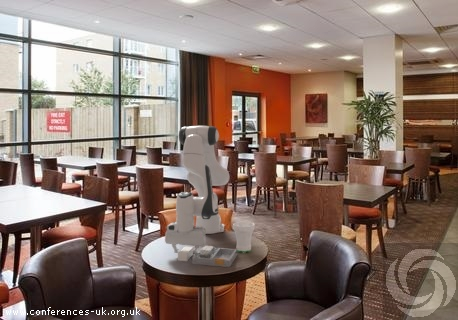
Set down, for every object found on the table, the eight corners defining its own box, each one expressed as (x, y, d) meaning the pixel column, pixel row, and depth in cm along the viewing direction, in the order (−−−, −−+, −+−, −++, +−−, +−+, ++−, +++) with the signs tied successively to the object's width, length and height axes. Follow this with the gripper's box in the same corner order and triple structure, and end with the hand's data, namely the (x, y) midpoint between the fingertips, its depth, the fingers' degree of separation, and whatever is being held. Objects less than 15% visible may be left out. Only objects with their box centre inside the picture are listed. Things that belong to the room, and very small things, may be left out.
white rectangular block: (184, 254, 202) (184, 246, 202) (193, 254, 201) (193, 247, 201) (177, 260, 193) (177, 252, 192) (186, 261, 192) (186, 253, 191)
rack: (202, 252, 204) (202, 243, 204) (237, 255, 200) (237, 245, 200) (192, 264, 188) (191, 254, 187) (229, 267, 184) (229, 257, 183)
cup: (248, 255, 199) (248, 228, 198) (229, 252, 204) (229, 225, 203) (258, 249, 209) (258, 222, 207) (239, 246, 214) (239, 220, 213)
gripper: (207, 225, 196) (207, 252, 197) (168, 223, 201) (168, 249, 202) (203, 228, 190) (204, 257, 191) (163, 226, 194) (163, 253, 196)
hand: (185, 253), depth 197 cm, fingers open, 8 cm apart
